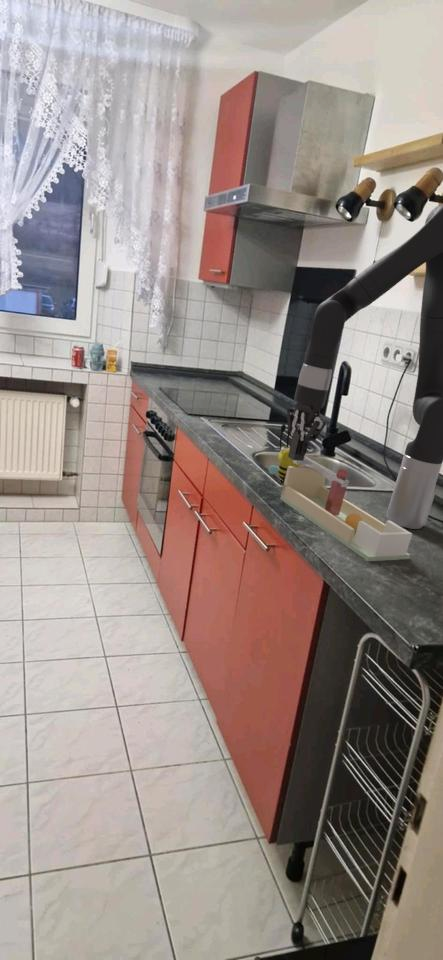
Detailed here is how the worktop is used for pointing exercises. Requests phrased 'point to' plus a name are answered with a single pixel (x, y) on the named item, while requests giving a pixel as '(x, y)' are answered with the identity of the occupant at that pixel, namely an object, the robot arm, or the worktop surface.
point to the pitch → (343, 518)
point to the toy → (283, 459)
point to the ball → (353, 520)
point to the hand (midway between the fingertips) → (296, 452)
